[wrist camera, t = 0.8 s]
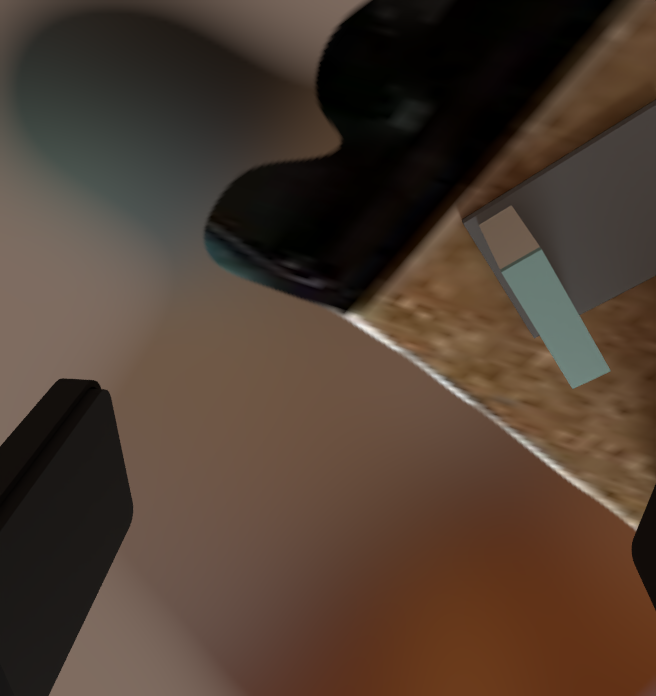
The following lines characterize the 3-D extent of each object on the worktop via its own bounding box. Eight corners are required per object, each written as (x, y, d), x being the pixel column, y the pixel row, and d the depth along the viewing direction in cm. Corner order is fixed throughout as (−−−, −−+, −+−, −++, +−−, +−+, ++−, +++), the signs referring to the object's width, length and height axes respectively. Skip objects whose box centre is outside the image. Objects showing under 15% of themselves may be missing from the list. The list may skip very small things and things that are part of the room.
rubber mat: (714, 237, 30) (720, 242, 29) (531, 333, 33) (534, 338, 33) (656, 99, 27) (662, 101, 26) (461, 219, 30) (463, 223, 30)
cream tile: (571, 310, 32) (610, 371, 26) (540, 326, 32) (572, 388, 27) (511, 205, 29) (541, 249, 24) (478, 224, 30) (501, 272, 24)
